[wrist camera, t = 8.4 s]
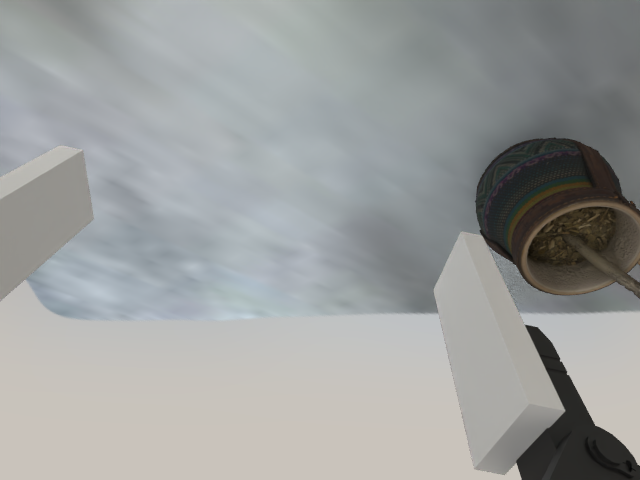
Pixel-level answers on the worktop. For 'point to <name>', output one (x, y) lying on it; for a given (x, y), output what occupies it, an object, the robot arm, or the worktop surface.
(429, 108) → the worktop surface
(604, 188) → the mate gourd
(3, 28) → the worktop surface
